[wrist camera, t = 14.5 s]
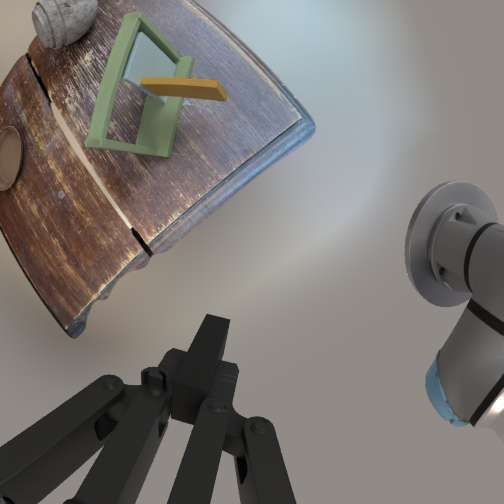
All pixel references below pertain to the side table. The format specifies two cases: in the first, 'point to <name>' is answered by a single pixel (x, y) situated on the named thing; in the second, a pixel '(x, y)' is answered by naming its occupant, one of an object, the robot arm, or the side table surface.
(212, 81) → the window pane
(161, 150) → the window frame
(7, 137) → the saucer
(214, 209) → the side table surface
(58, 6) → the decorative orb
